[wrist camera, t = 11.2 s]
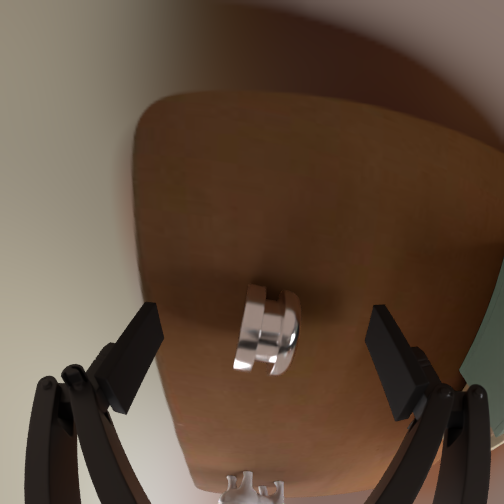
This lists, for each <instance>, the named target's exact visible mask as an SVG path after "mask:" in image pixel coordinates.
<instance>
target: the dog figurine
mask: <svg viewBox="0 0 504 504" xmlns="http://www.w3.org/2000/svg"><path fill="white" fill-rule="evenodd" d="M252 473H253V472H250V471H243V474H244V477H243V480H242V483H241V485H240V487H239V488H237V486H236V481H237V479H236V477H235V476H230V475H229V476H227V479H228V489H227V491H225V492H224V493H223V494H221V496H220V497H219V500H218V504H285V503H284V482H282V481H276V482H274V483H275V485H276V487H277V490H276V492H275V493H274V494H272V495H269V496H268V493H267V487H266V486H258V487H259V491H260V494H258V493H256V491H255V490H254V489H253V487H252Z"/></svg>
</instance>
